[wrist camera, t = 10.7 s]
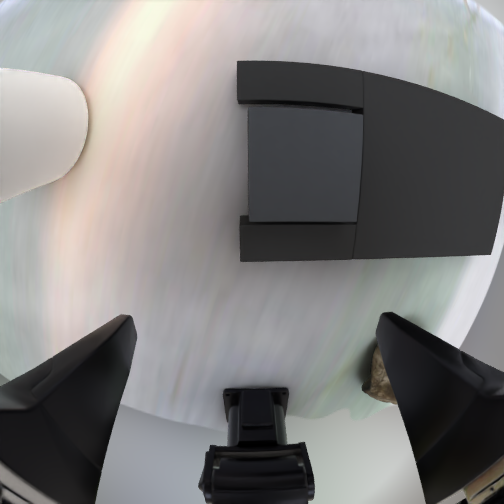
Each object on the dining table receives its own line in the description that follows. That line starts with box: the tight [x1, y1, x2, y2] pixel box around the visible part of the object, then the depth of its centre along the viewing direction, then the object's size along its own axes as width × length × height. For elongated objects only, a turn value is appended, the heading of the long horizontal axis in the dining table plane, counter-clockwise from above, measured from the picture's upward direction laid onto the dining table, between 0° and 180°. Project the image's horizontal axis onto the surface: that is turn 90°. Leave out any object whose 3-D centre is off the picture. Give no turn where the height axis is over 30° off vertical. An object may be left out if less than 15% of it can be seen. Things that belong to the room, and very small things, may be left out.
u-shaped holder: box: [237, 61, 504, 262], centre depth 16 cm, size 12×22×2 cm, turn 91°
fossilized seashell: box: [362, 345, 397, 404], centre depth 22 cm, size 8×7×10 cm
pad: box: [248, 107, 363, 222], centre depth 15 cm, size 6×6×4 cm
